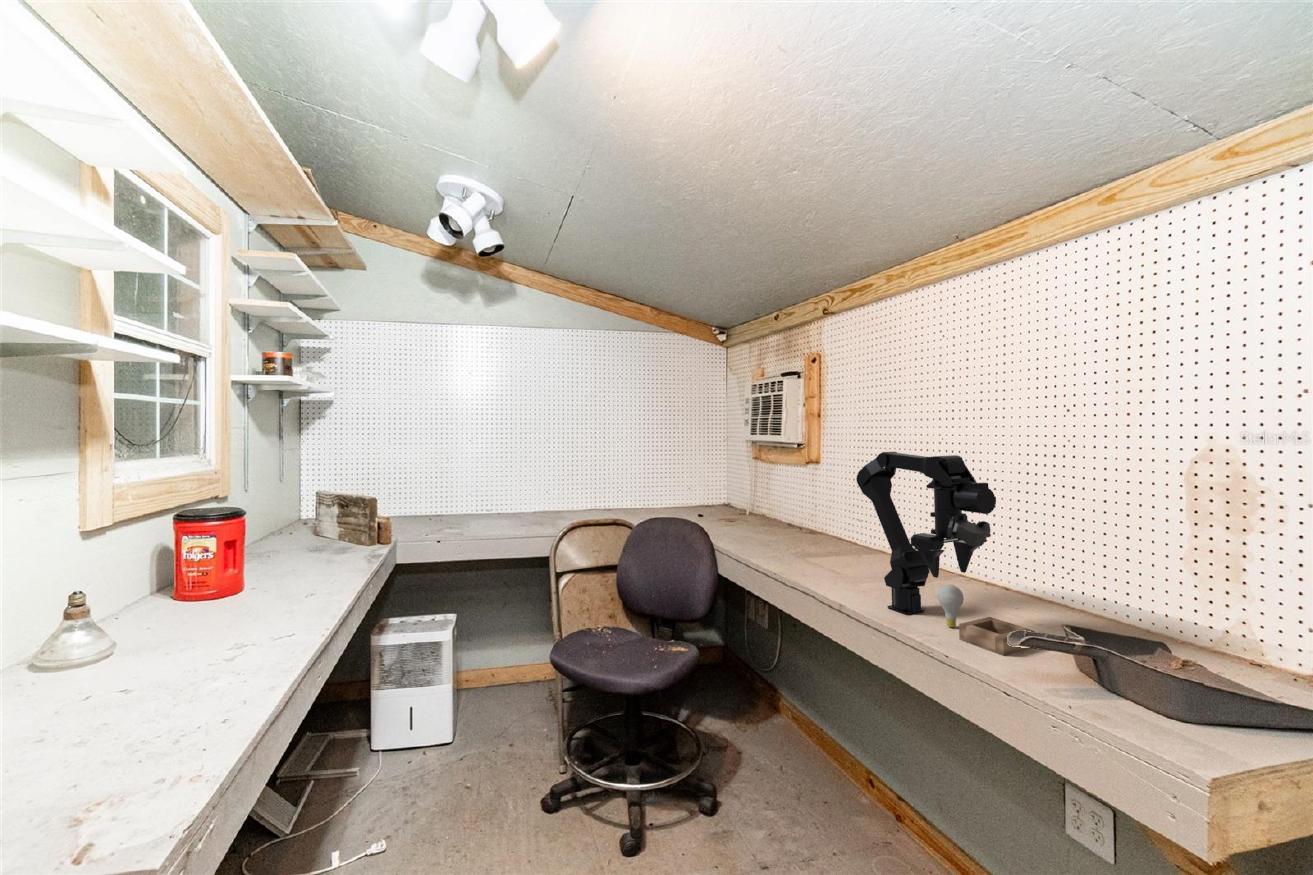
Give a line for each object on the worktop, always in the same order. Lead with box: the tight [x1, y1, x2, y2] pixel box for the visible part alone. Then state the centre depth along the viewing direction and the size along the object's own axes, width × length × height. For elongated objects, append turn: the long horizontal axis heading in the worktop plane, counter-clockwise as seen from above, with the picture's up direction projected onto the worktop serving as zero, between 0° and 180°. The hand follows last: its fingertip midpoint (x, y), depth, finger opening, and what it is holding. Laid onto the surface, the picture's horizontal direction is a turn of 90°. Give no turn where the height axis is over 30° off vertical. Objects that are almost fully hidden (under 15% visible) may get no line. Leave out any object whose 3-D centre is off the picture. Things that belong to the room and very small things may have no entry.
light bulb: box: [937, 584, 965, 629], centre depth 129 cm, size 6×5×10 cm
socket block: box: [958, 616, 1035, 657], centre depth 119 cm, size 10×10×4 cm
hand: (949, 574), depth 129 cm, fingers open, 9 cm apart
